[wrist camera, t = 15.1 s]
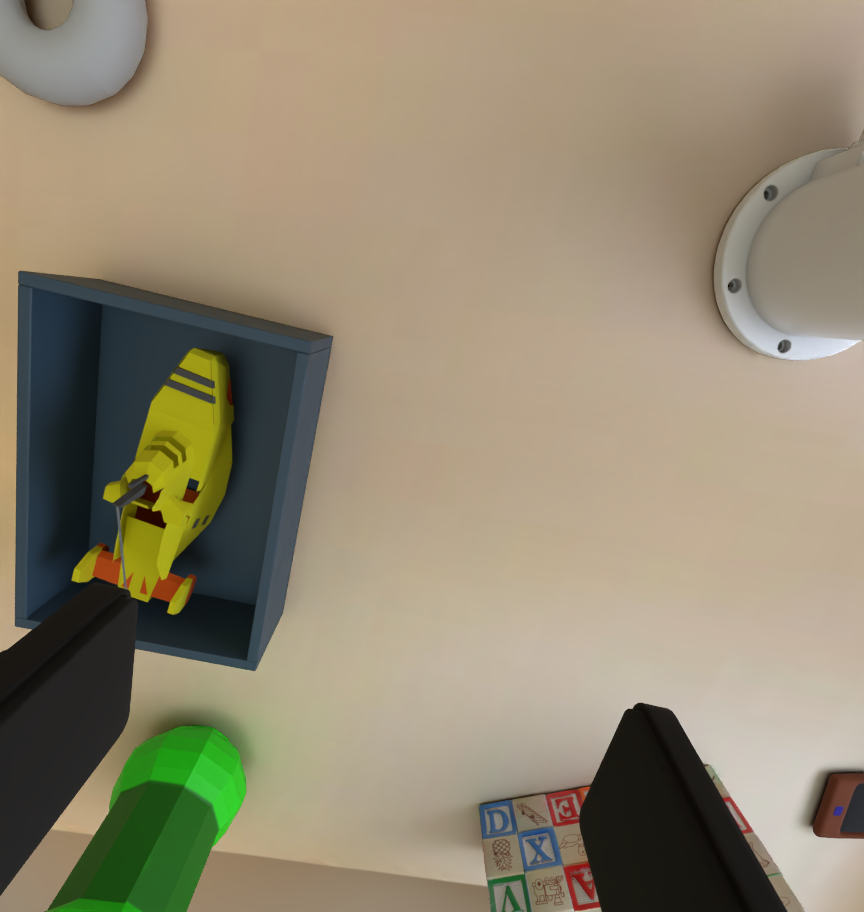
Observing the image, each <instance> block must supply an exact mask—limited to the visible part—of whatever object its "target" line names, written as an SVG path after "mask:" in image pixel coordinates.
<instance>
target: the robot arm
mask: <svg viewBox="0 0 864 912" xmlns="http://www.w3.org/2000/svg"><path fill="white" fill-rule="evenodd" d="M763 195H764V196H763ZM728 284H729V285H730V286H729V289H728ZM714 290H715V296H716V301H717V305H718V308H719V310H720V313H721V315H722V318H723V320H724V322H725V323H726V325H727V326H728V328H729V329H730V331H731V332H732V334H733V335H734V336H736V337H737V338H738V339H739V340H740V341H741V342H742V343H743V344H744V345H745V346H747V347H749V348H751V349H752V350H754V351H756V352H757V353H760V354H763V355H766V356H769V357H772V358H778V359H785V360H813V359H818V358H823V357H827V356H830V355H833V354H835V353H838V352H841V351H843V350H845V349H847V348H849V347H850V346H852V345H854V344H856V343H857V342H859V341H864V130H863V132H862V134H861V137H860V139H859V141H858V142H855V143H853V144H852V145H851V147H850V148H834V149H824V150H820V151H817V152H814V153H811V154H808V155H804V156H802V157H800V158H797V159H795V160H793V161H790V162H788V163H786V164H784V165H782V166H781V167H779V168H778V169H776V170H775V171H773V172H771V173H770V174H768V175H767V176H765V177H764V178H763V179H762V180H761V181H760V182H759V183H758V184H757V185H755V186H754V187H753V188H752V189H751V190H750V191H749V192H748V194H747V195H746V196H745V197H744V199H743V200H742V201H741V202H740V204H739V205H738V206H737V207H736V209H735V211H734V212H733V214H732V216H731V218H730V219H729V221H728V223H727V225H726V226H725V229H724V232H723V234H722V237H721V240H720V242H719V245H718V249H717V254H716V259H715V264H714ZM137 617H138V602H137V600H135V599H131V593H130V591H129V590H128V589H125V588H120V587H116V586H111V585H107V584H102V583H98V582H97V583H92V584H90V585H89V586H87V587H86V588H85V589H83V590H82V591H81V592H80V593H78V594H77V595H76V596H75V597H73V598H72V599H71V600H70V601H68V602H67V603H66V604H65V605H63V606H62V607H61V608H59V609H58V610H57V611H56V612H54V613H53V614H52V615H51V616H49V617H48V618H47V619H46V620H44V621H43V622H42V623H40V624H39V625H38V626H37V627H35V628H34V629H33V630H32V631H30V632H29V633H28V634H27V635H25V636H24V637H23V638H22V639H20V640H19V641H18V642H16V643H15V644H14V645H13V646H11V647H10V648H9V649H8V650H4V651H2V652H0V895H1V894H2V893H3V892H4V890H5V889H6V888H7V886H8V885H9V883H10V882H11V881H12V880H13V878H14V877H15V875H16V874H17V873H18V871H19V870H20V869H21V868H22V866H23V865H24V864H25V862H26V861H27V860H28V858H29V857H30V855H31V854H32V853H33V851H34V850H35V849H36V847H37V846H38V845H39V843H40V842H41V841H42V839H43V838H44V837H45V835H46V834H47V832H48V831H49V830H50V829H51V827H52V826H53V825H54V823H55V822H56V821H57V819H58V818H59V817H60V815H61V814H62V813H63V811H64V810H65V809H66V807H67V806H68V805H69V803H70V802H71V801H72V799H73V798H74V797H75V795H76V794H77V793H78V791H79V790H80V789H81V787H82V786H83V785H84V783H85V782H86V781H87V779H88V778H89V777H90V775H91V774H92V773H93V771H94V770H95V769H96V767H97V766H98V765H99V763H100V762H101V761H102V759H103V758H104V757H105V755H106V754H107V753H108V751H109V750H110V749H111V747H112V746H113V745H114V743H115V742H116V741H117V739H118V738H119V736H120V735H121V733H122V732H123V730H124V728H125V726H126V723H127V720H128V717H129V712H130V700H131V688H132V676H133V664H134V653H135V641H136V629H137ZM579 826H580V832H581V836H582V839H583V843H584V847H585V851H586V855H587V858H588V862H589V866H590V870H591V873H592V877H593V881H594V885H595V888H596V892H597V896H598V900H599V904H600V907H601V911H602V912H788V911H787V910H786V908H785V906H784V904H783V903H782V901H781V899H780V897H779V896H778V894H777V892H776V890H775V889H774V887H773V885H772V883H771V882H770V880H769V878H768V876H767V875H766V873H765V871H764V869H763V868H762V866H761V864H760V862H759V861H758V859H757V857H756V855H755V854H754V852H753V850H752V849H751V847H750V845H749V843H748V842H747V840H746V838H745V836H744V835H743V833H742V831H741V829H740V828H739V826H738V824H737V822H736V821H735V819H734V817H733V815H732V814H731V812H730V810H729V808H728V807H727V805H726V803H725V801H724V800H723V798H722V796H721V794H720V793H719V791H718V789H717V787H716V786H715V784H714V782H713V780H712V779H711V777H710V775H709V773H708V772H707V770H706V768H705V766H704V765H703V763H702V761H701V760H700V758H699V756H698V754H697V753H696V751H695V749H694V747H693V746H692V744H691V742H690V740H689V739H688V737H687V735H686V733H685V732H684V730H683V728H682V726H681V725H680V723H679V721H678V719H677V718H676V716H675V715H674V713H673V712H672V711H671V710H669V709H667V708H662V707H658V706H653V705H649V704H644V703H637V704H636V705H635V706H634V707H633V709H627V710H626V711H625V713H624V714H623V717H622V719H621V721H620V723H619V725H618V727H617V730H616V732H615V734H614V736H613V738H612V741H611V743H610V745H609V747H608V749H607V752H606V754H605V756H604V758H603V760H602V762H601V765H600V767H599V769H598V771H597V773H596V776H595V778H594V780H593V782H592V784H591V786H590V789H589V791H588V793H587V795H586V797H585V800H584V802H583V804H582V806H581V809H580V814H579Z"/></svg>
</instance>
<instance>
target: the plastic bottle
mask: <svg viewBox="0 0 864 912" xmlns="http://www.w3.org/2000/svg"><path fill="white" fill-rule="evenodd" d="M245 794H246V777H245V774H244V770H243V767H242V763H241V760H240V757H239V753H238V751H237V749H236V747H235V746H234V745H232V744H231V743H230V742H229V739H228V738H227V737H225V736H224V735H223V734H221V733H220V732H219V731H217V730H216V729H215V728H212V727H205V726H197V725H193V726H181V727H177V728H175V729H172V730H170V731H167V732H165V733H162V734H160V735H158V736H155V737H153V738H150V739H148V740H146V741H145V742H144V743H142V744H141V745H139V746H138V747H137V748H135V749H134V751H133V752H132V754H131V756H130V757H129V759H128V760H127V762H126V764H125V766H124V768H123V770H122V772H121V774H120V776H119V778H118V780H117V782H116V784H115V786H114V788H113V791H112V796H111V800H110V806H109V813H108V815H107V816H106V818H105V820H104V821H103V823H102V824H101V826H100V828H99V829H98V831H97V832H96V834H95V835H94V837H93V839H92V841H91V842H90V844H89V845H88V847H87V848H86V850H85V851H84V853H83V855H82V856H81V858H80V859H79V861H78V863H77V864H76V866H75V867H74V869H73V870H72V872H71V874H70V875H69V877H68V878H67V880H66V881H65V883H64V885H63V886H62V888H61V889H60V891H59V893H58V894H57V896H56V897H55V899H54V900H53V902H52V904H51V905H50V907H49V908H48V910H47V911H45V912H186V911H187V909H188V906H189V904H190V901H191V898H192V896H193V893H194V891H195V888H196V886H197V884H198V881H199V878H200V876H201V873H202V871H203V868H204V866H205V863H206V861H207V858H208V856H209V853H210V851H211V848H212V847H213V846H214V845H215V844H216V843H217V842H218V841H219V839H220V838H221V837H222V836H223V835H224V833H225V832H226V831H227V829H228V827H229V826H230V824H231V822H232V821H233V819H234V817H235V815H236V814H237V812H238V810H239V809H240V807H241V805H242V802H243V800H244V797H245Z"/></svg>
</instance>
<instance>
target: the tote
mask: <svg viewBox="0 0 864 912" xmlns="http://www.w3.org/2000/svg"><path fill="white" fill-rule="evenodd" d="M18 283H19V284H20V285H18V367H17V466H16V565H15V626H16V627H21V628H27V629H32V630H33V629H34V628H35V627H37V626H38V625H39V624H40V623H42V622H43V621H44V620H46V619H47V618H48V617H49V616H51V615H52V614H53V613H54V612H56V611H57V610H58V609H59V608H61V607H62V606H63V605H65V604H66V603H67V602H68V601H70V600H71V599H72V598H73V597H75V596H76V595H77V594H78V593H80V592H81V591H82V590H83V589H85V588H86V587H87V586H89V585H90V584H92V583H97V582H98V583H102V584H107V585H111V586H116V587H118V585H116V584H114V583H111V582H108V581H106V580H103V579H100V578H98V577H94V578H92V579H91V580H90V581H88V582H79V583H78V582H75V581H72V576H73V572H74V568H75V567H76V566H77V565H78V564H79V562H80V561H81V560H82V559H83V557H84V556H85V555H86V554H87V553H88V552H89V551H90V550H91V549H93V548H94V547H95V546H96V545H98V544H99V543H103V544H106V545H107V546H108V547H109V548H110V549H109V552H110V553H114V549H115V544H116V539H117V535H118V520H117V510H116V507H115V506H113V504H112V502H109V501H107V500H105V499H103V496H104V492H105V488H106V486H107V485H108V484H109V483H110V482H115V481H121V478H122V476H123V475H124V474H125V472H126V471H127V470H128V469H129V467H130V466H131V465H132V463H133V462H134V460H135V456H136V453H137V450H138V446H139V443H140V440H141V436H142V433H143V429H144V426H145V423H146V419H147V416H148V413H149V409H150V406H151V402H152V400H153V397H154V396H155V395H156V393H157V392H158V391H159V389H160V388H161V387H162V385H163V384H164V382H165V381H166V380H167V378H168V377H169V376H170V375H171V373H172V372H173V370H174V369H175V368H176V366H177V365H178V364H179V363H180V361H181V360H182V359H183V357H184V356H185V355H186V353H187V352H188V351H189V350H191V349H193V348H201V349H210V350H215V351H218V352H220V353H223V354H224V355H225V358H226V360H227V362H228V364H229V371H230V380H231V394H232V402H233V405H234V422H233V423H232V424H231V438H232V466H231V471H230V475H229V479H228V484H227V488H226V492H225V496H224V497H223V499H222V501H221V503H220V505H219V507H218V509H217V511H216V513H215V515H214V517H213V518H212V520H211V522H210V523H209V524H208V525H207V526H206V528H205V529H204V530H203V531H202V532H201V533H200V534H199V535H198V536H197V537H196V538H195V539H194V540H193V541H192V542H191V543H190V544H189V545H188V546H187V547H186V548H185V549H184V550H183V551H182V552H181V553H180V554H179V555H178V556H177V557H176V558H175V559H174V561H173V562H172V565H171V567H170V570H169V573H172V574H174V575H177V576H180V577H182V578H185V579H186V578H187V577H188V576H189V574H191V575H194V576H196V577H197V580H196V583H195V586H194V589H193V592H192V594H191V596H190V598H189V600H188V602H187V604H186V605H185V606H184V607H183V608H182V610H181V611H180V612H179V613H177V614H174V615H172V614H169V613H167V611H168V608H169V604H170V602H168V601H165V600H161V599H158V598H155V597H152V598H151V599H150V600H149V601H148V602H145V601H142V600H139V599H136V598H133V597H131V599H135V600H137V602H138V617H137V629H136V641H135V649H139V650H145V651H150V652H155V653H161V654H166V655H171V656H177V657H182V658H187V659H193V660H198V661H204V662H209V663H214V664H220V665H225V666H230V667H236V668H241V669H246V670H252V671H255V670H256V669H257V667H258V664H259V662H260V660H261V658H262V656H263V654H264V652H265V650H266V647H267V645H268V643H269V641H270V639H271V637H272V635H273V633H274V630H275V628H276V626H277V624H278V622H279V620H280V618H281V616H282V614H283V609H284V603H285V598H286V592H287V587H288V581H289V576H290V570H291V565H292V559H293V554H294V548H295V543H296V537H297V532H298V526H299V521H300V515H301V510H302V504H303V499H304V493H305V488H306V482H307V477H308V471H309V466H310V461H311V455H312V450H313V444H314V439H315V433H316V428H317V422H318V417H319V411H320V406H321V400H322V395H323V389H324V384H325V378H326V373H327V367H328V362H329V356H330V351H331V345H332V340H333V337H332V336H329V335H325V334H321V333H317V332H313V331H308V330H304V329H300V328H296V327H292V326H288V325H284V324H280V323H276V322H272V321H268V320H264V319H259V318H255V317H251V316H247V315H243V314H239V313H235V312H231V311H227V310H223V309H219V308H215V307H211V306H206V305H202V304H198V303H194V302H190V301H186V300H182V299H178V298H174V297H170V296H166V295H162V294H157V293H153V292H149V291H145V290H141V289H137V288H133V287H129V286H125V285H121V284H117V283H113V282H109V281H104V280H100V279H92V278H83V277H74V276H64V275H55V274H46V273H36V272H27V271H19V272H18ZM213 413H214V412H213ZM198 485H199V481H197V480H194V479H192V478H189V481H188V484H187V487H186V488H187V489H190V490H192V491H195V492H198V493H199V492H200V491H197V488H198ZM161 490H162V489H161ZM161 490H159V491H158V492H160V491H161ZM122 511H123V507H122V508H119V513H120V520H121V516H122Z"/></svg>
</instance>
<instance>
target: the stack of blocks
mask: <svg viewBox="0 0 864 912" xmlns="http://www.w3.org/2000/svg"><path fill="white" fill-rule="evenodd" d="M705 768H706V770H707V772H708V773H709V775H710V777H711V779H712V780H713V782H714V784H715V786H716V787H717V789H718V791H719V793H720V794H721V796H722V798H723V800H724V801H725V803H726V805H727V807H728V808H729V810H730V812H731V814H732V815H733V817H734V819H735V821H736V822H737V824H738V826H739V828H740V829H741V831H742V833H743V835H744V836H745V838H746V840H747V842H748V843H749V845H750V847H751V849H752V850H753V852H754V854H755V855H756V857H757V859H758V861H759V862H760V864H761V866H762V868H763V869H764V871H765V873H766V875H767V876H768V878H769V880H770V882H771V883H772V885H773V887H774V889H775V890H776V892H777V894H778V896H779V897H780V899H781V901H782V903H783V904H784V906H785V908H786V910H787V911H788V912H806V911H805V910H804V908H803V907H802V905H801V904H800V902H799V901H798V899H797V898H796V896H795V895H794V893H793V892H792V890H791V889H790V887H789V885H788V884H787V882H786V881H785V879H784V878H783V875H782V873H781V872H780V870H779V868H778V867H777V865H776V864H775V863H774V862H773V860H772V858H771V856H770V855H769V853H768V852H767V850H766V849H765V847H764V845H763V844H762V842H761V841H760V840H759V838H758V837H757V835H756V834H755V833H754V831H753V830H752V828H751V827H750V825H749V824H748V822H747V821H746V819H745V818H744V816H743V814H742V813H741V811H740V810H739V808H738V807H737V806H736V804H735V803H734V801H733V800H732V799H731V797H730V794H729V793H728V791H727V790H726V788H725V787H724V785H723V783H722V782H721V780H720V779H719V777H718V776H717V774H716V773H715V771H714V770H713V768H712V767H711V766H710V765H708V766H705ZM589 789H590V786H589V787H583V788H579V789H574V790H568V791H562V792H556V793H551V794H547V795H544V794H542V795H536V796H531V797H525V798H519V799H513V800H506V801H500V802H495V803H490V804H484V805H480V806H479V811H480V821H481V831H482V839H483V841H482V843H483V852H484V861H485V869H486V877H487V882H488V892H489V900H490V908H491V912H602V911H601V907H600V904H599V900H598V896H597V892H596V888H595V885H594V881H593V877H592V873H591V870H590V866H589V862H588V858H587V855H586V851H585V847H584V843H583V839H582V836H581V832H580V826H579V814H580V809H581V806H582V804H583V802H584V800H585V797H586V795H587V793H588V791H589Z"/></svg>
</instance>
